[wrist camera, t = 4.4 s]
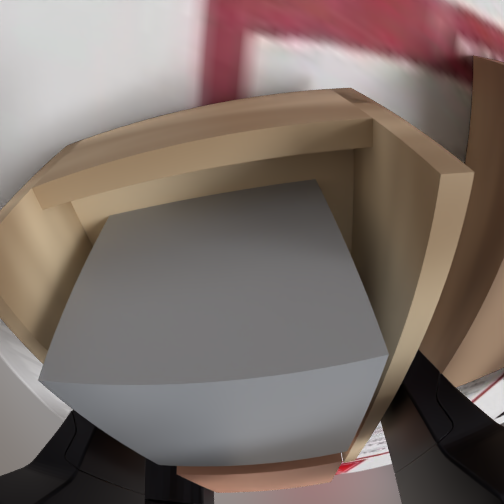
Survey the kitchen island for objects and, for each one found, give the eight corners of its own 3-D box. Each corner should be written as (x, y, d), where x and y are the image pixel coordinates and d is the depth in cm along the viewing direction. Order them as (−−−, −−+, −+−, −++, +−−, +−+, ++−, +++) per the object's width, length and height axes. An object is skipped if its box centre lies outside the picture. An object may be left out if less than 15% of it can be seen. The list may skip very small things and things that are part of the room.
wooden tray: (337, 377, 14) (354, 460, 11) (199, 394, 15) (196, 476, 11) (350, 87, 6) (474, 172, 3) (66, 145, 7) (-41, 262, 3)
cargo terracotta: (216, 407, 13) (217, 492, 10) (183, 357, 10) (176, 473, 7) (316, 396, 12) (330, 482, 9) (318, 341, 10) (342, 461, 7)
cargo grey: (171, 337, 9) (159, 465, 6) (109, 215, 6) (38, 379, 3) (319, 318, 9) (347, 451, 6) (315, 179, 6) (388, 354, 3)
